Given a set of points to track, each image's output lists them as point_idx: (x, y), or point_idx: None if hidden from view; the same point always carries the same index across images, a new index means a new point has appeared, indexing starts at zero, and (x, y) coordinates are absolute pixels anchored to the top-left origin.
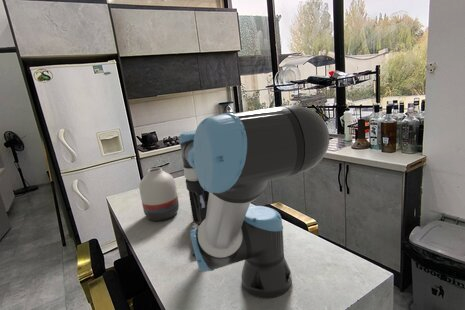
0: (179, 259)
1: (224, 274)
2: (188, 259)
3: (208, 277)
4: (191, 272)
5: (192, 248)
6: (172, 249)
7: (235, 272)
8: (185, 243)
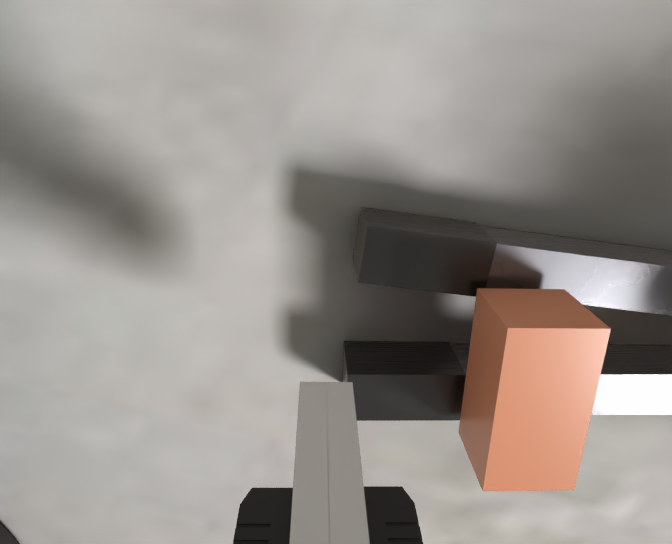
0: (390, 64)
1: (13, 382)
2: (344, 153)
3: (11, 266)
4: (128, 142)
5: (400, 232)
6: (619, 17)
7: (14, 453)
8: (639, 174)
